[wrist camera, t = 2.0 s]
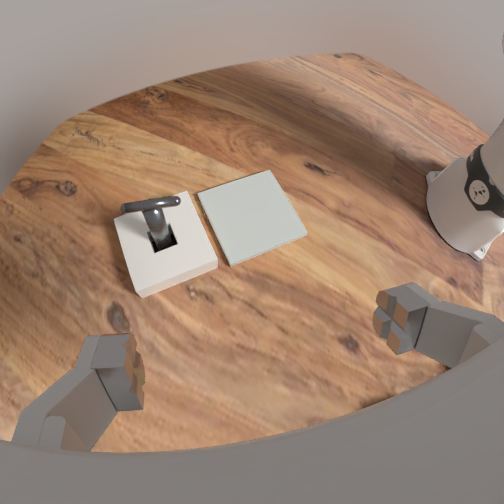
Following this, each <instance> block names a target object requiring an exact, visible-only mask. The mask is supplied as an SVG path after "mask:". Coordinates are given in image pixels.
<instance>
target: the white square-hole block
mask: <svg viewBox="0 0 504 504" xmlns="http://www.w3.org/2000/svg"><path fill="white" fill-rule="evenodd" d="M174 196H178V197H180V199H181V203H180V205H178V206H175V207H167V208H162V210H163V213H164V217H165V220H166V223H167V227H168V230H169V233H170V235H171V234H173V235H174V238H175V240H176V243H177V245H174V246H172V247H169V248H167V249H164V250H162V251H159V252H157V253H155V251H154V248H153V245H152V243H151V242H153V241H154V239H153V237H152V235H151V232H150V230H149V227H148V225H147V223H146V220H145V218H144V215H143V213H142V211H140V212H133V213H127V214H124V215H122V216H120V217H117V218H115V219H114V222H115V226H116V229H117V233H118V237H119V240H120V243H121V247H122V250H123V254H124V257H125V260H126V263H127V267H128V270H129V273H130V276H131V279H132V282H133V285H134V288H135V291H136V293H137V294H138V295H139V296H140V297H141V298H144V297H147V296H149V295H152V294H154V293H157V292H159V291H162V290H164V289H167V288H169V287H172V286H174V285H176V284H179V283H181V282H184V281H186V280H189V279H191V278H194V277H196V276H199V275H201V274H204V273H206V272H209V271H211V270H213V269H216V268H218V259H217V256H216V254H215V252H214V250H213V248H212V245H211V243H210V241H209V239H208V237H207V234H206V232H205V230H204V228H203V226H202V223H201V221H200V219H199V217H198V214H197V212H196V210H195V207H194V205H193V203H192V201H191V198H190V196H189V194H188V191H185V192H182V193H179V194H177V195H174Z"/></svg>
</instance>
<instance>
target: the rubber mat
mask: <svg viewBox="0 0 504 504" xmlns="http://www.w3.org/2000/svg"><path fill="white" fill-rule="evenodd" d="M198 198H199V200H200V202H201V205H202V207H203V209H204V211H205V213H206V216H207V218H208V220H209V222H210V224H211V226H212V229H213V231H214V233H215V235H216V237H217V239H218V241H219V244H220V246H221V248H222V250H223V252H224V254H225V256H226V259H227V261H228V263H229V265H230V267H231V266H234V265H236V264H239V263H241V262H243V261H246V260H248V259H251V258H253V257H256V256H258V255H261V254H263V253H265V252H268V251H270V250H273V249H275V248H278V247H280V246H282V245H285V244H287V243H290V242H292V241H295V240H297V239H299V238H302V237H304V236H306V235H307V234H308V232H307V231H306V229H305V227H304V225H303V224H302V222H301V220H300V219H299V217H298V215H297V214H296V212H295V210H294V208H293V207H292V205H291V203H290V202H289V200H288V198H287V197H286V195H285V193H284V192H283V190H282V189H281V187H280V185H279V184H278V182H277V180H276V179H275V177H274V176H273V174H272V172H271V171H270V170H267V171H264V172H261V173H257V174H254V175H251V176H248V177H245V178H242V179H238V180H235V181H232V182H229V183H226V184H223V185H220V186H217V187H214V188H211V189H209V190H206V191H203V192H200V193H198Z"/></svg>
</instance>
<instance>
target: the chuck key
mask: <svg viewBox="0 0 504 504" xmlns="http://www.w3.org/2000/svg"><path fill="white" fill-rule="evenodd" d="M180 203H181V199H180V197H178V196H171V197H164V198H157V199H148V200H143V201H136V202H130V203H124V204H122V206H121V211H122V213H125V214H126V213H133V212H140V211H142V213H143V215H144V218H145V220H146V223H147V225H148V227H149V230H150V232H151V235H152V237H153V239H154V242H155V244H156V246H157V248H158V251H162V250H164V249H167V248H169V247H172V246H173V243H172V240H171V237H170V233H169V230H168V227H167V223H166V220H165V217H164V213H163V210H162V208H167V207H175V206H178V205H180Z"/></svg>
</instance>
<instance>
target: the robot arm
mask: <svg viewBox="0 0 504 504" xmlns="http://www.w3.org/2000/svg"><path fill="white" fill-rule="evenodd" d="M502 43H503V53H504V34H503V40H502ZM426 179H427V184H428V191H427V207H428V211H429V214H430V217H431V220H432V222H433V224H434V226H435V227H436V229H437V230H438V232H439V233H440V235H441V236H442V237H443V238H444V240H445V241H446V242H447V243H448V244H450V245H451V246H452V247H454V248H455V249H457V250H459V251H461V252H465V253H468V254H470V255H471V256H472V257H473V258H474V259H476V260H477V261H480V260H481V259H483V258H484V256H485V254H486V252H487V251H488V249H489V247H490V245H491V243H492V241H493V240H494V239H495V238H497V237H498V236H499V235H501V234H502V233H503V232H504V119H503V121H502V122H501V124H500V125H499V127H498V128H497V129H496V131H495V132H494V133H493V135H492V136H491V137H490V138H489V139H488V140H487V142H486V143H485V144H481V145H480V146H478V147H477V148H476V149H475V150H474V151H473V152H472V153H471V155H470V156H469V157H468V158H465V159H464V158H456V159H454V160H453V161H452V162H451V163H450V164H449V165H448V166H447V167H446V168H445V169H444V170H443V171H431V172H429V173H428V174H427V175H426ZM376 303H377V305H378V307H377V309H376V310H375V311H374V314H373V326H374V329H375V331H376V333H377V334H378V335H379V336H380V337H382V338H384V339H387V345H388V346H389V348H390V349H391V350H392V351H393V352H394V353H395V354H396V355H399V354H402V353H405V352H408V351H410V350H413V349H415V350H416V351H418V352H420V353H422V354H424V355H426V356H428V357H430V358H432V359H434V360H436V361H438V362H440V363H442V364H444V365H446V366H448V367H450V368H451V369H450V370H448V371H446V372H444V373H442V374H440V375H438V376H436V377H434V378H432V379H430V380H428V381H426V382H424V383H422V384H420V385H418V386H416V387H414V388H412V389H409V390H407V391H405V392H403V393H400V394H398V395H396V396H394V397H391V398H389V399H386V400H384V401H381V402H379V403H376V404H374V405H371V406H369V407H366V408H363V409H361V410H358V411H355V412H352V413H349V414H347V415H344V416H341V417H338V418H335V419H331V420H328V421H325V422H322V423H318V424H315V425H312V426H308V427H304V428H301V429H297V430H293V431H289V432H285V433H281V434H277V435H272V436H268V437H263V438H259V439H254V440H248V441H243V442H237V443H232V444H225V445H219V446H212V447H204V448H195V449H186V450H174V451H160V452H133V453H113V452H90V451H91V449H92V448H93V447H94V445H95V444H96V442H97V441H98V440H99V438H100V437H101V435H102V434H103V433H104V431H105V430H106V428H107V427H108V426H109V424H110V423H111V421H112V420H113V419H114V417H115V416H116V414H117V411H132V410H143V405H144V392H143V389H142V387H141V386H142V385H143V384H144V383H145V370H144V364H143V360H142V357H141V354H139V353H138V352H137V351H136V345H137V343H136V340H135V337H134V335H133V334H132V333H119V334H104V335H91V336H87V337H86V338H85V340H84V343H83V346H82V348H81V351H80V354H79V357H78V360H77V363H76V366H75V369H74V370H70V371H68V372H67V373H66V374H65V375H64V376H62V377H61V378H60V379H59V380H58V381H57V382H55V383H54V384H53V385H52V386H51V387H49V388H48V389H47V390H46V391H45V392H44V393H42V394H41V395H40V396H39V397H38V398H37V399H35V400H34V401H33V402H32V403H31V404H30V405H29V406H27V407H26V408H25V409H24V410H23V411H22V412H21V414H20V417H19V420H18V423H17V426H16V429H15V432H14V435H13V438H12V441H11V442H9V441H5V440H0V504H504V322H502V321H501V320H500V319H498V318H497V317H496V316H495V315H492V314H488V313H485V312H481V311H477V310H474V309H470V308H467V307H463V306H459V305H456V304H452V303H449V302H445V301H442V302H440V301H439V300H437V299H436V298H435V297H434V296H432V295H431V294H430V293H428V292H427V291H426V290H424V289H423V288H422V287H420V286H419V285H418V284H416V283H413V282H411V283H407V284H404V285H401V286H398V287H394V288H390V289H386V290H382V291H379V293H378V295H377V298H376Z"/></svg>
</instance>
